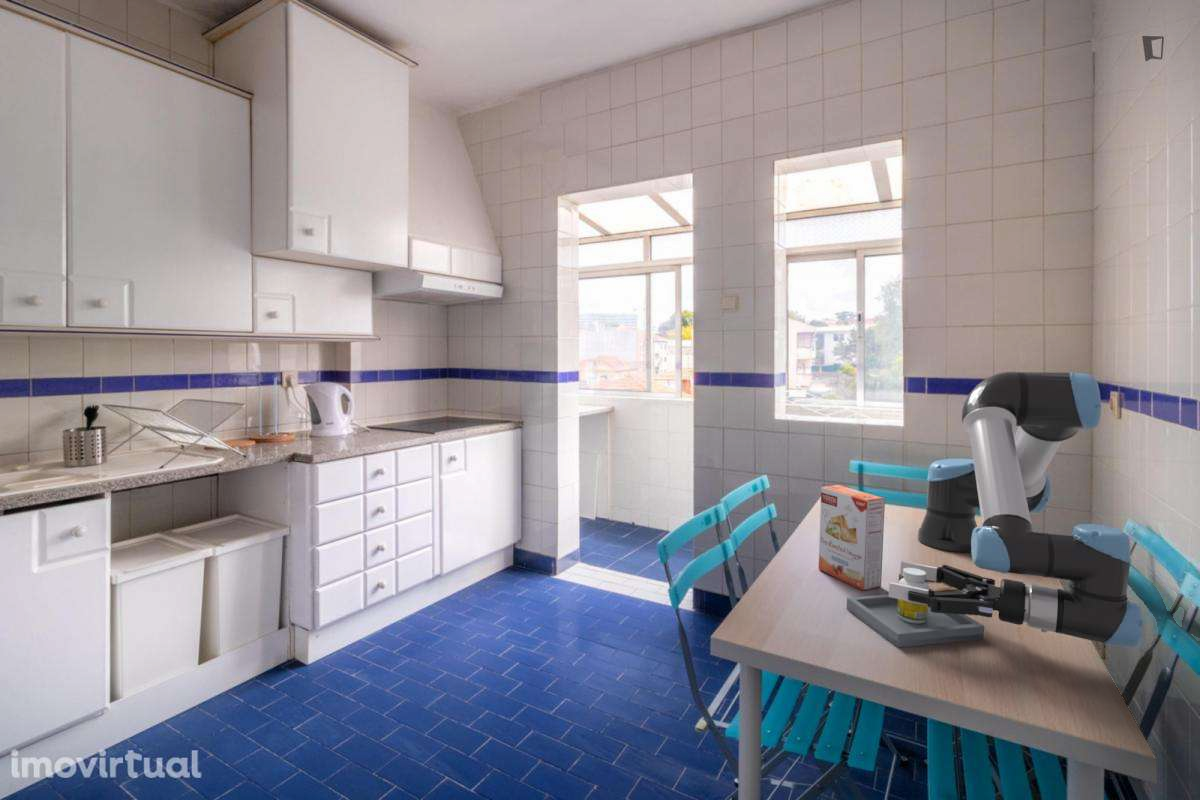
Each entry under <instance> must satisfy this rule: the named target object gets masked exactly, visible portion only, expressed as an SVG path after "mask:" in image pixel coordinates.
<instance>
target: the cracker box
mask: <svg viewBox="0 0 1200 800" xmlns="http://www.w3.org/2000/svg"><path fill="white" fill-rule="evenodd" d="M820 488H821V489H820V513H819V514H820V515H819V518H820V519H819V544H818V547H819V548H818V570H819V571H822V572H823V573H826V574H828V575H829V576H833V577H834V578H837V579H838V580H840V581H842V582H845V583H847V584H848V585H851V586H853V587H855V588H857V589H860V590H861V591H867V590H871V589H875V588H880V587H882V578H883V577H882V574H883V573H882V571H883V554H884V553H883V551H884V531H885V529H884V527H885V511H886V510H885V509H886V508H885V506H886V503H885V502H886V499H885V498H884V497H881V496H877V495H874V494H870V493H867V492H864V491H860V490H858V489H854V488H851V487H847V486H844V485H840V484H836V485H835V484H834V485H825V486H821V487H820Z"/></svg>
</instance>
